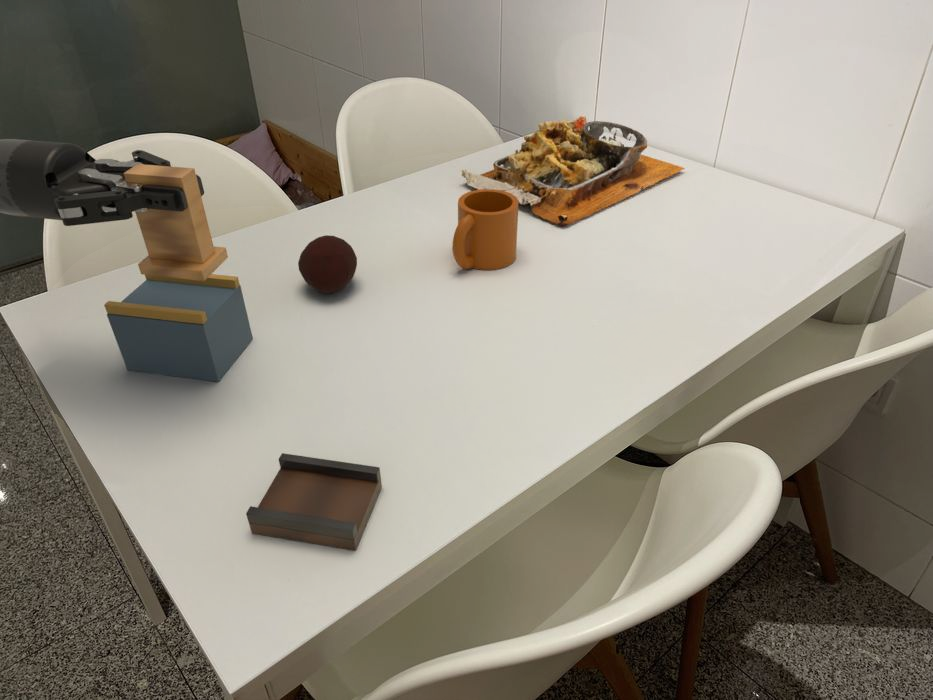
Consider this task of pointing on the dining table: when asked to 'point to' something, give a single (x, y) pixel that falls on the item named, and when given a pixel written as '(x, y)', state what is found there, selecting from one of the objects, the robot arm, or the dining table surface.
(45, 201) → the robot arm
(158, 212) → the wooden pedestal block
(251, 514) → the brown u-shaped block
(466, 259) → the mug
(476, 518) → the dining table surface
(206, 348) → the blue railed block
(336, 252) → the dark maroon ball
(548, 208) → the food tray
